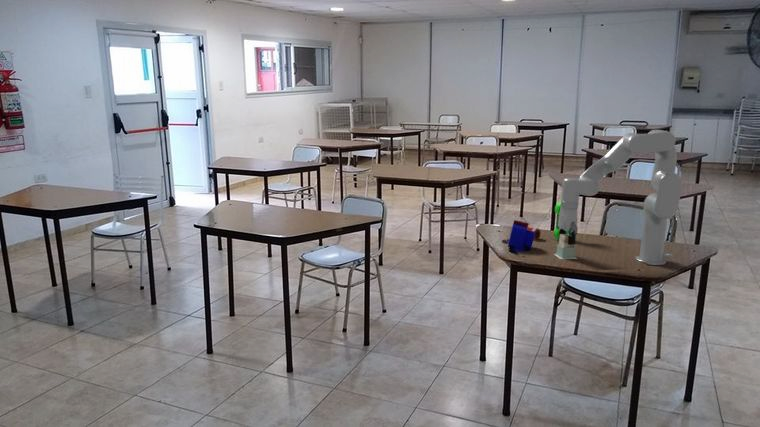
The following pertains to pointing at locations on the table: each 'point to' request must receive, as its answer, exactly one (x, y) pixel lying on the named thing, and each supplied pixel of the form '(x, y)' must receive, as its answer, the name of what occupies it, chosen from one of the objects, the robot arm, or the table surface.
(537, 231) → the toy hammer
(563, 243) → the maple cube
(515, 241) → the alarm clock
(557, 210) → the plastic bottle
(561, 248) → the sage block
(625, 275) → the table surface
